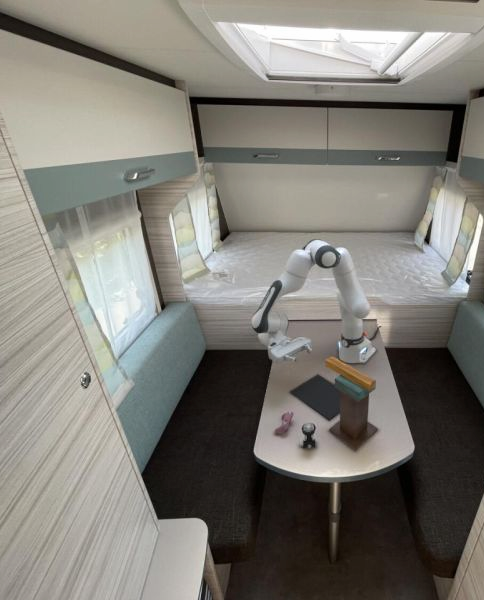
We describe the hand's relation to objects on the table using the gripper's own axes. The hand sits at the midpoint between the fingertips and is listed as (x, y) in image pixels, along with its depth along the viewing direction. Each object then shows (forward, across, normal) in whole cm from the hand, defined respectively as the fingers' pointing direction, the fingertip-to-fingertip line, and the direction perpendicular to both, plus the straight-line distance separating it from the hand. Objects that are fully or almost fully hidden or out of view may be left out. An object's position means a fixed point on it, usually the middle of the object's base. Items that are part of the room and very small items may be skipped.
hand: (303, 355), depth 143 cm
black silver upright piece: (+21, +18, -24) cm, 36 cm away
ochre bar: (+27, 0, +2) cm, 27 cm away
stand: (+29, 0, -24) cm, 38 cm away
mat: (+5, -6, -23) cm, 24 cm away
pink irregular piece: (+7, +18, -23) cm, 30 cm away
